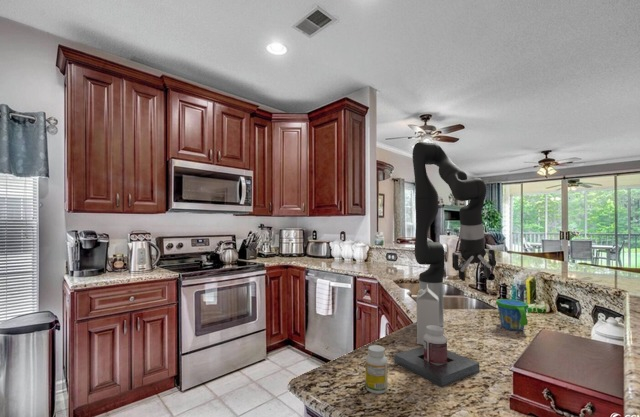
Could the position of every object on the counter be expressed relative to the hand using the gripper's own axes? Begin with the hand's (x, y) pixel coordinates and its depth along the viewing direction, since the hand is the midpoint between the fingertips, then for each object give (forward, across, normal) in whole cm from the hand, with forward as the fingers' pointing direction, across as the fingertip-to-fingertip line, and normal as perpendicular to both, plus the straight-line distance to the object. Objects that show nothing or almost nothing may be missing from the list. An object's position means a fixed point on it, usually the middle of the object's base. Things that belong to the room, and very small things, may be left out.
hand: (474, 278), depth 112 cm
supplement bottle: (+6, +42, +40) cm, 59 cm away
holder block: (+11, +24, +28) cm, 39 cm away
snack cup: (+26, -16, -6) cm, 31 cm away
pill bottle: (+11, +25, +29) cm, 39 cm away
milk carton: (+16, +21, +10) cm, 29 cm away
